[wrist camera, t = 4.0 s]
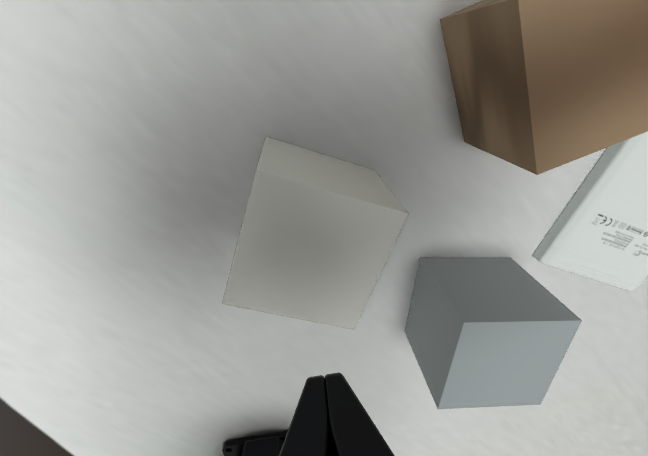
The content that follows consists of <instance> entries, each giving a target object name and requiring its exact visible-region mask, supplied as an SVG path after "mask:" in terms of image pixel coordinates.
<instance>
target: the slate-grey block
mask: <svg viewBox="0 0 648 456" xmlns="http://www.w3.org/2000/svg"><path fill="white" fill-rule="evenodd" d="M581 321H582V320H581V319H580V318H578V317H577V316H576V315H575V314H574V313H573V312H572V311H570V310H569V309H568V308H567V307H566V306H565V305H564V304H563V303H561V302H560V301H559V300H558V299H557V298H556V297H555V296H553V295H552V294H551V293H550V292H549V291H548V290H547V289H546V288H544V287H543V286H542V285H541V284H540V283H539V282H538V281H536V280H535V279H534V278H533V277H532V276H531V275H530V274H529V273H527V272H526V271H525V270H524V269H523V268H522V267H521V266H519V265H518V264H517V263H516V262H515V261H514V260H513V259H512V258H444V257H420V261H419V266H418V271H417V275H416V280H415V285H414V290H413V295H412V299H411V304H410V309H409V314H408V318H407V323H406V328H405V333H406V336H407V338H408V340H409V343H410V345H411V347H412V350H413V352H414V354H415V357H416V359H417V361H418V364H419V366H420V368H421V371H422V373H423V375H424V378H425V380H426V382H427V385H428V387H429V389H430V392H431V394H432V397H433V399H434V401H435V404H436V406H437V408H438V409H451V408H473V407H495V406H517V405H539V404H541V403H542V401H543V398H544V396H545V394H546V392H547V390H548V388H549V386H550V384H551V382H552V380H553V378H554V376H555V374H556V372H557V370H558V368H559V366H560V364H561V362H562V360H563V358H564V356H565V354H566V352H567V350H568V348H569V345H570V343H571V341H572V339H573V337H574V335H575V333H576V331H577V329H578V327H579V325H580V323H581Z"/></svg>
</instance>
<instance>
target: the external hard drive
mask: <svg viewBox="0 0 648 456" xmlns="http://www.w3.org/2000/svg"><path fill="white" fill-rule="evenodd" d="M532 256H533V257H534V258H536V259H537V260H538V261H539V262H541V263H543V264H545V265H548V266H551V267H555V268H558V269H561V270H564V271H568V272H571V273H574V274H577V275H581V276H584V277H587V278H590V279H593V280H596V281H600V282H603V283H606V284H609V285H612V286H616V287H619V288H622V289H625V290H628V291H635V290H636V289H637V288H638V287H639V285H640V284H641V283H642V282H643V281H644V280H645V279H646V277H647V276H648V131H647V132H645V133H642V134H640V135H637V136H635V137H632V138H630V139H627V140H624V141H622V142H619V143H617V144H614V145H612V146H609V147H607V148H606V150H605V151H604V153H603V154H602V156H601V157H600V159H599V160H598V161H597V163H596V164H595V166H594V167H593V168H592V170H591V171H590V173H589V174H588V176H587V177H586V179H585V180H584V181H583V183H582V184H581V186H580V187H579V189H578V190H577V191H576V193H575V194H574V196H573V197H572V199H571V200H570V201H569V203H568V204H567V206H566V207H565V209H564V210H563V212H562V213H561V214H560V216H559V217H558V219H557V220H556V222H555V223H554V225H553V226H552V227H551V229H550V230H549V232H548V233H547V235H546V236H545V238H544V239H543V240H542V242H541V243H540V245H539V246H538V247H537V249H536V250H535V252H534V253H533V255H532Z"/></svg>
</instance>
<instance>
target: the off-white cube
mask: <svg viewBox="0 0 648 456" xmlns="http://www.w3.org/2000/svg"><path fill="white" fill-rule="evenodd" d="M407 216H408V212H407V211H406V210H405V209H404V207H403V206H402V205H401V203H400V202H399V201H398V200H397V198H396V197H395V196H394V195H393V193H392V192H391V191H390V189H389V188H388V187H387V186H386V184H385V183H384V182H383V181H382V179H381V178H380V177H379V176H378V174H377V173H376V172H375V170H372V169H368V168H365V167H362V166H359V165H355V164H352V163H349V162H346V161H343V160H339V159H336V158H333V157H330V156H326V155H323V154H320V153H317V152H314V151H310V150H307V149H304V148H301V147H297V146H294V145H291V144H288V143H285V142H281V141H278V140H275V139H272V138H268V137H266V138H265V142H264V145H263V148H262V151H261V155H260V158H259V161H258V164H257V168H256V171H255V175H254V179H253V183H252V187H251V191H250V195H249V199H248V203H247V207H246V210H245V214H244V218H243V222H242V226H241V230H240V234H239V238H238V242H237V246H236V250H235V254H234V258H233V262H232V265H231V269H230V273H229V277H228V281H227V285H226V289H225V293H224V297H223V301H222V304H225V305H230V306H236V307H241V308H246V309H251V310H256V311H261V312H266V313H271V314H276V315H282V316H287V317H292V318H297V319H302V320H307V321H312V322H317V323H322V324H327V325H333V326H338V327H343V328H348V329H353V330H355V328H356V326H357V323H358V321H359V319H360V317H361V315H362V313H363V311H364V308H365V306H366V304H367V302H368V300H369V298H370V296H371V294H372V291H373V289H374V287H375V285H376V283H377V281H378V279H379V276H380V274H381V272H382V270H383V268H384V266H385V264H386V261H387V259H388V257H389V255H390V253H391V251H392V249H393V246H394V244H395V242H396V240H397V238H398V236H399V234H400V231H401V229H402V227H403V225H404V223H405V221H406V219H407Z"/></svg>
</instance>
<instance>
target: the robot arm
mask: <svg viewBox="0 0 648 456" xmlns="http://www.w3.org/2000/svg"><path fill="white" fill-rule="evenodd" d="M222 451H223V454H224V456H394V454H393V453H392V451H391V449H390V448H389V446H388V445H387V443H386V442H385V440H384V439H383V437H382V435H381V434H380V432H379V431H378V429H377V428H376V426H375V424H374V423H373V421H372V420H371V418H370V417H369V415H368V414H367V412H366V410H365V409H364V407H363V406H362V404H361V403H360V401H359V400H358V398H357V396H356V395H355V393H354V392H353V390H352V389H351V387H350V386H349V384H348V382H347V381H346V379H345V378H344V376H343V375H342V374H341V373H333V374H327V375H326V376H325V378H324V376H322V375H320V376H314V377H309V378H308V379H307V380H306V383H305V386H304V388H303V391H302V394H301V397H300V399H299V402H298V405H297V408H296V410H295V413H294V416H293V419H292V422H291V424H290V427H289V430H288V432H281V433H275V434H269V435H263V436H257V437H251V438H244V439H238V440H232V441H227V442H225V443H224V444H223V449H222Z"/></svg>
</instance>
